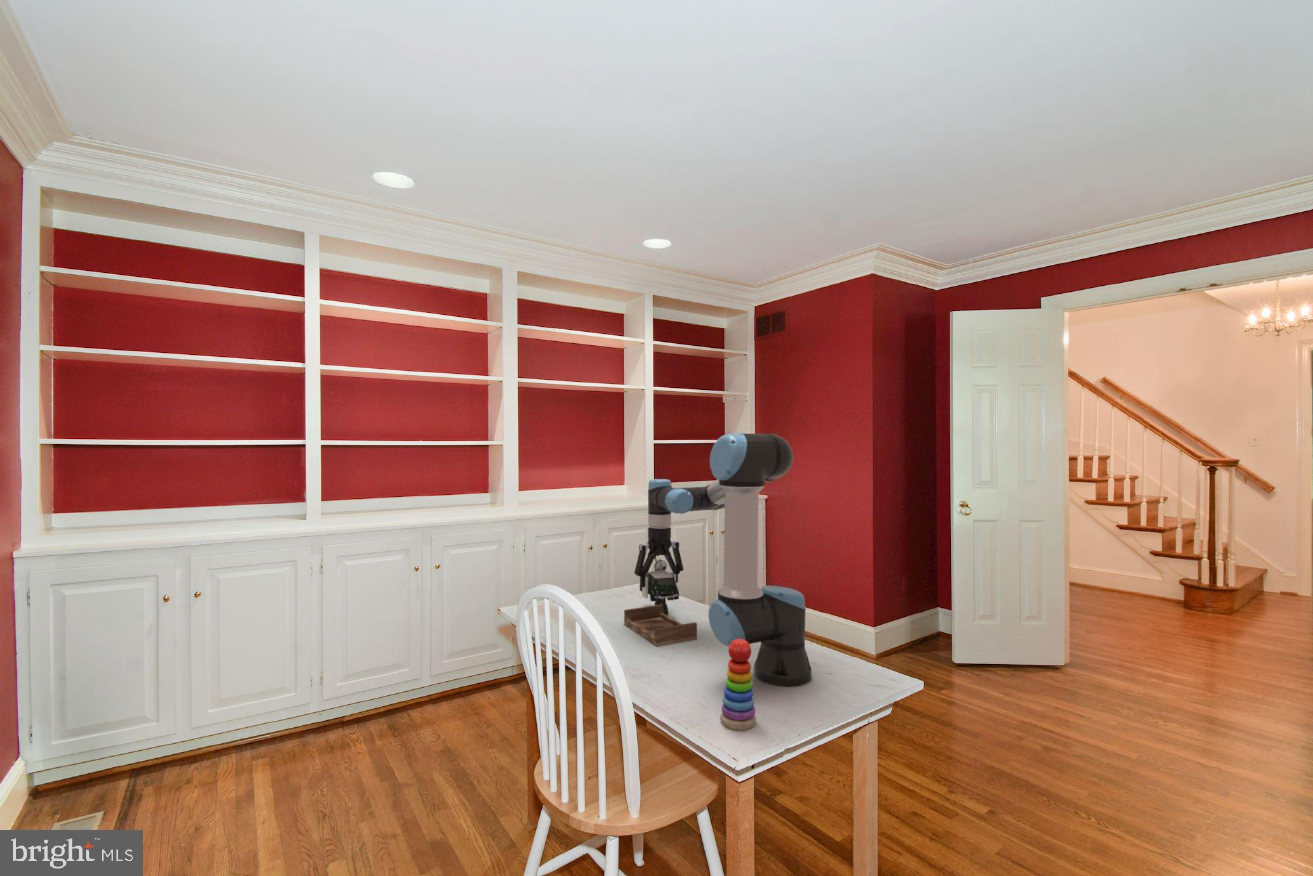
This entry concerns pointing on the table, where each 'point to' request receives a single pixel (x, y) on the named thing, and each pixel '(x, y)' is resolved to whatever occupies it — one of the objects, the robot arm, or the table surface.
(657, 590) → the miniature car
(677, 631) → the cradle
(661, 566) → the robot
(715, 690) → the table surface
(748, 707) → the stacking toy
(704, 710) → the table surface
